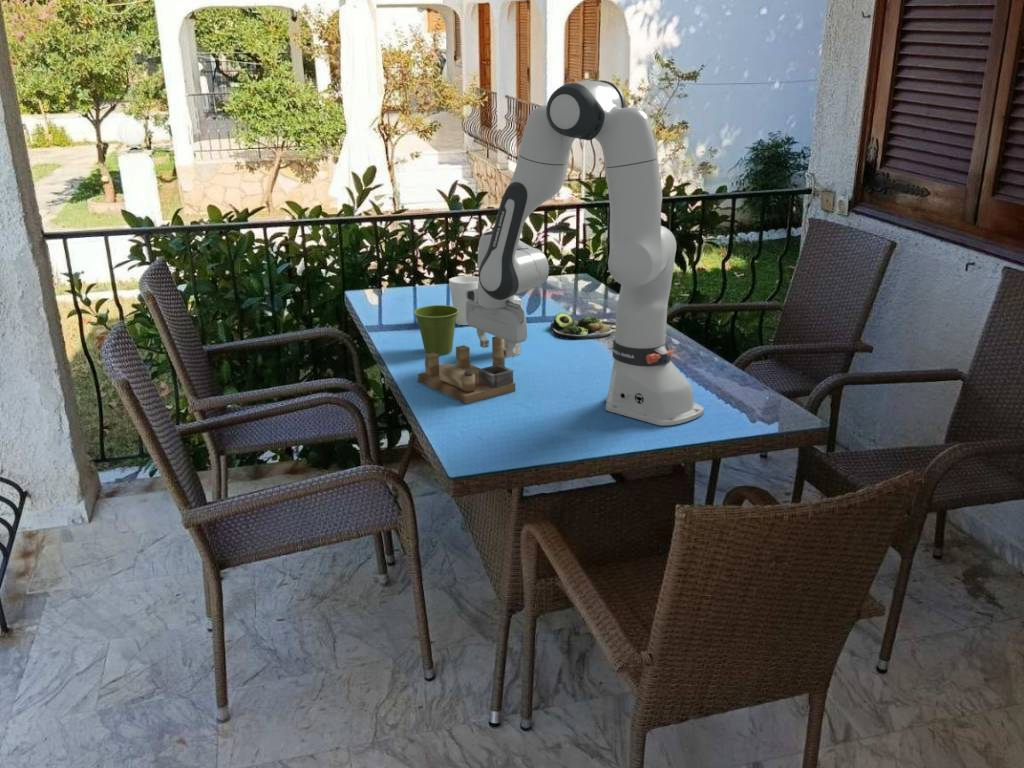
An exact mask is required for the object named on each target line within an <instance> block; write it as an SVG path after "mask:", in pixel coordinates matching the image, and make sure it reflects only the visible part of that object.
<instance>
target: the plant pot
mask: <svg viewBox="0 0 1024 768" xmlns="http://www.w3.org/2000/svg"><path fill="white" fill-rule="evenodd" d="M458 312H459V309H458V308H456V307H453V305H445V304H434V305H427V306H423V307H419V308H416V309H414V311H413V314H414V315H415V317H416V321H417V323H418V327H419V330H420V335H421V339H422V340H421V342H422V344H423V348H424V349H423V350H424V353H425V354H428V353H432V352H434V353H436V354H438V355H441V356H444V355H448V354H450V353H452V351H453V345H454V336H455V330H456V329H455V328H456V318H457V313H458Z"/></svg>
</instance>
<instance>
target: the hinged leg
mask: <svg viewBox="0 0 1024 768" xmlns="http://www.w3.org/2000/svg"><path fill="white" fill-rule="evenodd" d="M453 365H454V364H451V363H449V362H446V363H441V364H439V377H440V380H442V381H445V382H447V383H449V384H451V385H453V386H456V387H458V388H460V389H462V390H463V391H467V392H470V391H474V390H475V374H474V373H472V371H465V370H463V369H461V368H458V367H456V366H453Z"/></svg>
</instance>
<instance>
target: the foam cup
mask: <svg viewBox="0 0 1024 768" xmlns="http://www.w3.org/2000/svg"><path fill="white" fill-rule="evenodd" d="M478 281H479V276H475V275H459V276H454V277H453V276H452V277H451V278H448V287H449V289H450V297H451V302H452V306H453V307H456V308H458V309H459V312H458V313H457V318H456V321H455V325H457V324H458V325H457V326H460V325H468V323H467V321H466V302H467V300H468V299H466V296H465V293H466V291H467V290H471V289H476V288H478Z"/></svg>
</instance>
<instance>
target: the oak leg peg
mask: <svg viewBox="0 0 1024 768" xmlns="http://www.w3.org/2000/svg"><path fill="white" fill-rule="evenodd" d="M491 345H492V346H491V347H492V349H491V351H492V353H491V354H492V357H491V359H492V366H494V365H496V366H497V365H501V366H504V367H506V364H505V363H506V359H505V358H506V357H505V356H504V355H503V349H505V340H504V339H502V338H499V337H497V336H493V337H492V338H491Z"/></svg>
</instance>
